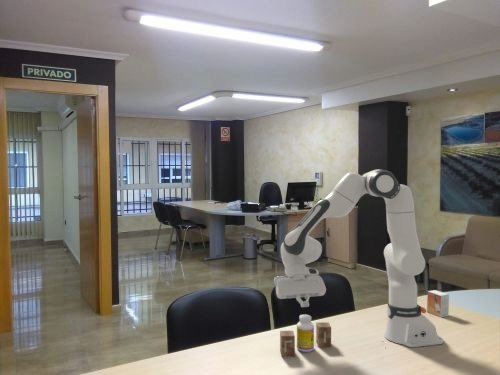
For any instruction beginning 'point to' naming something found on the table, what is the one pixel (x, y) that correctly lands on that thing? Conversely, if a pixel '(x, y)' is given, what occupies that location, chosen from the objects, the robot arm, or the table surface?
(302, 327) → the supplement bottle
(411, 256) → the robot arm
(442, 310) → the small box
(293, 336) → the walnut block seven
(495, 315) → the table surface
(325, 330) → the walnut block one
